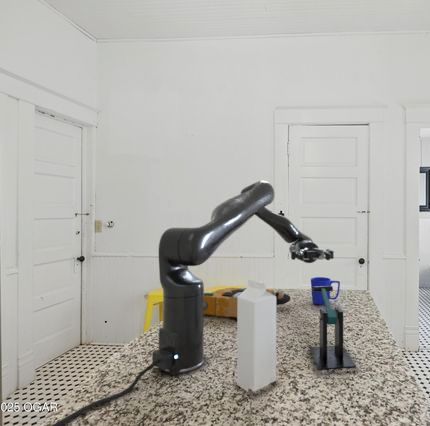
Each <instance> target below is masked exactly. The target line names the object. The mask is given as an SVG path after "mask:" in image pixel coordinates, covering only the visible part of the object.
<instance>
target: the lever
mask: <svg viewBox="0 0 430 426" xmlns="http://www.w3.org/2000/svg"><path fill="white" fill-rule="evenodd" d="M333 290H334V288H333V285H331V286H313V292H321V293H322V296H323V300H324V303H325V305H324V306H325V307H324V308H325V310H326V312H327V326H328V325H329V326H331V325H335V324H336V322H337V315H336V312H335V308H332V306H331V303H330V299H328V296H327V293H326V291H330V292H333Z"/></svg>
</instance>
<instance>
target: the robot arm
mask: <svg viewBox="0 0 430 426" xmlns="http://www.w3.org/2000/svg"><path fill="white" fill-rule="evenodd" d="M275 194H276V193H275V188H274V187H273V185H272V184H271V183H269V182H268V181H266V180H258V181H256V182H254V183H252V184H249V185H247V186H244V187H243V188H242V189H241V191H240V194H237V195H235V196H233V197H231V198H228V199H226V200H225V201H223V202H221V203H220V204H218V205H216V206H215V208H214V209H213V210H212V211H211V215H210V221H209V222H207V223H205V224H204V225H202V226H198V227H197V226H196V227H169V228H167V229H166V230H164V232H163V233H162V235H161V236H160V239H159V241H158V272H159V282H160V283H159V284H160V287H161V288H162V299H163V300H162V327H160V328H159V329H158V349H157V350H155V351H152V353H151V354H152V355H151V357H152V358H151V359H152V361H151V364H150V365H148V366H146V367H145V368H144V369H143V370H142V371H141V372H140V373H139V374H138V375H137V376H136V377H135V379H134V380H133V382H132V383H131V384H130V385H129V387H127V388H125V389H124V390H123V391H120V392H119V393H116V394H114V395H110V396H108V397H104V398H102V399H98V400H96V401H94V402H91V403H89V404H87V405H85V406H83V407H81V408H80V409H78V410H76V411H74V412H73V413H71V414H69V415H67V416H66V417H64V418H62V419H60V420H58V421H57V422H54V423H53V424H52V425H51V426H62V425H65V423H67V422H68V421H70V420H72V419H73V418H75V417H77V416H79V415H81V414H83V413H85V412H86V411H89V410H90V409H92V408H94V407H96V406H99V405H101V404H102V405H103V404H105V403H108V402H111V401H114V400H116V399H118V398H120V397H122V396H124V395H126V394H128V393H129V392H130V391H132V390H133V389H134V388H135V386H137V384H138V382H139V381H140V379H141V378H142V377H143V376H144V375H145V374H146V373H147V372H148V371H150V370H151V369H153V368H155V367H156V368H158V370H160V371H162V372H165V373H167V374H170V375H172V376H178V375H180V374H186V373H189V372H192V371H195V370H197V369H199V368H200V367H201V366H203V364H204V362H205V357H204V348H205V347H204V344H205V343H204V327H205V325H204V324H205V323H204V322H205V321H204V320H205V319H204V318H205V315H204V293H205V285H204V281H203V280H202V279H201V278H199V277H197V276H196V275H195V274H193V273H192V272H191V270H190V269H189V267H197V266H201V265H203V264H204V263H205V262H207V261H208V260H209V259H210V258H211V257H212V256H213V254H214V253H215V252H216V251H217V250H218V249H219V247H220V246H221V245H222V244H223V243H224V242H225V241H227V239H228V238H230V237H231V236H232V235H233V234H234V233H236V232H237V231H238V230H240V229H241V228H242V227H243V226H244V225H245V224H246V223H248V222H249V220H251V219H252V218H253V217H254V216H256V217H257V218H258V219H259V220H262V222H264V223H266V224H267V225H268V226H269V227H271V229H273V230H274V231H275V232H276V233H277V234H278V235H279V236H280V238H281V239H282V240H283V241H284V242H285V243H287V244H290V245H289V248H288V251H289V254H290V258H291V260H293V261H294V260H296V259H297V260H298V261H301V262H304V263H306V264H313V263H314V262H316V261H317V260H319V261H322V260H326V261H330V260H333V259H334V258H335V257H334V253H335V251H334V250H332V249H329V248H327V249H323V248H320V247H319V246H318V244H317V243H315V242H314V240H313V239H312V238H311V237H310V236H309V235H308V234H305V233H304V232H302V231H301V230H300V229H298V228H297V227H296V226H295V224H294V223H293V222H292V221H291V220H290V219H289V218H288V217H285V216H284V215H281V214H279V213H277V212H274V211H272V210H270V209H268V208H267V207H266V206H269V205H271V204H272V203H273V202H274V200H275Z"/></svg>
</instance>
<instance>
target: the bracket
mask: <svg viewBox="0 0 430 426" xmlns="http://www.w3.org/2000/svg"><path fill="white" fill-rule="evenodd" d="M334 309H335V312H336V315H337V322H336V324H334V345H328V324H327V312H326V308H325V307H322V306H321V307H319V314H318V321H319V345H317V346H309V350H310V353H311V356H312V358H313V361H314V364H315V366H316V369H317V371H327V370H340V369H341V370H342V369H353V368H355V369H356V368H357V365H356V364H355V362H354V361H353V360H352V358H351V356H350V355H349V353H348V352H347V350H346V349H345V347H344V311H343V310H342V309H341V307H340V306H334Z"/></svg>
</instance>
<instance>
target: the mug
mask: <svg viewBox="0 0 430 426" xmlns="http://www.w3.org/2000/svg"><path fill="white" fill-rule="evenodd" d="M334 283H335V284H337V292H336V295H335V296H334V297H331V291H326V293H327V296H328V299H329V300H332V301H333V300H336V299H338V298H339V294H340V289H341V288H340V287H341V281H339V280H332V279H331V278H329V277H324V276H316V277H312V278H310V287H311V289H310V290H311V300H312V303H313V304H315V305H318V306H325V303H324V300H323V296H322V293H321V292H313V286H332V284H334Z"/></svg>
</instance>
